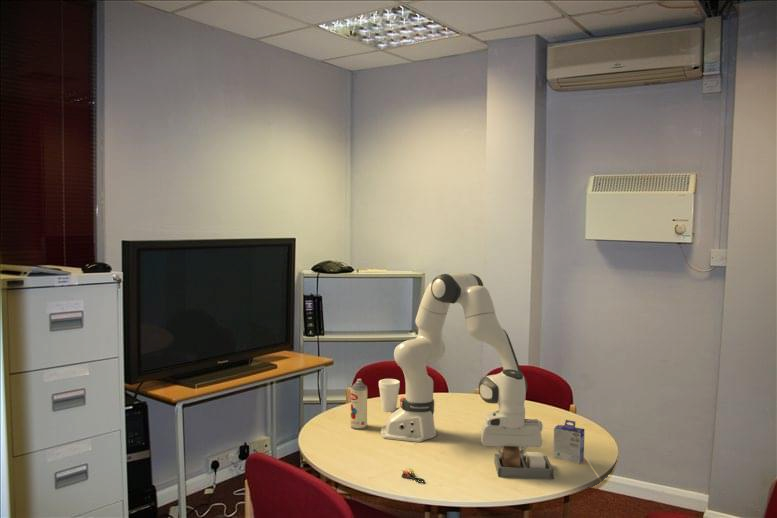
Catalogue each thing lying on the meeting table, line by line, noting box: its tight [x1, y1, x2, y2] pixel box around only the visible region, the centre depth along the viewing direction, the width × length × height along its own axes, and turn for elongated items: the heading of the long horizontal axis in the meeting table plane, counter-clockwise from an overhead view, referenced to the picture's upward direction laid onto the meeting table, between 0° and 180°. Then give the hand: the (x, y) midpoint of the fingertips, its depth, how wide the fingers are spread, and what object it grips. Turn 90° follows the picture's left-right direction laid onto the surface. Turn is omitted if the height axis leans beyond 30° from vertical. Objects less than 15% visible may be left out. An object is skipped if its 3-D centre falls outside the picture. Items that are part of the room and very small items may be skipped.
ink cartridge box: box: [552, 419, 585, 465], centre depth 216 cm, size 10×6×14 cm, turn 58°
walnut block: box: [501, 446, 521, 468], centre depth 206 cm, size 5×8×6 cm, turn 176°
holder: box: [493, 453, 555, 480], centre depth 206 cm, size 18×12×4 cm, turn 86°
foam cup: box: [378, 378, 401, 413], centre depth 274 cm, size 10×9×13 cm
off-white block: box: [525, 451, 546, 468], centre depth 206 cm, size 5×8×5 cm, turn 176°
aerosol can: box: [350, 378, 368, 431], centre depth 250 cm, size 7×7×20 cm
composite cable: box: [401, 467, 426, 484], centre depth 201 cm, size 10×5×2 cm, turn 32°
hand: (510, 458), depth 206 cm, fingers closed on walnut block, 5 cm apart
